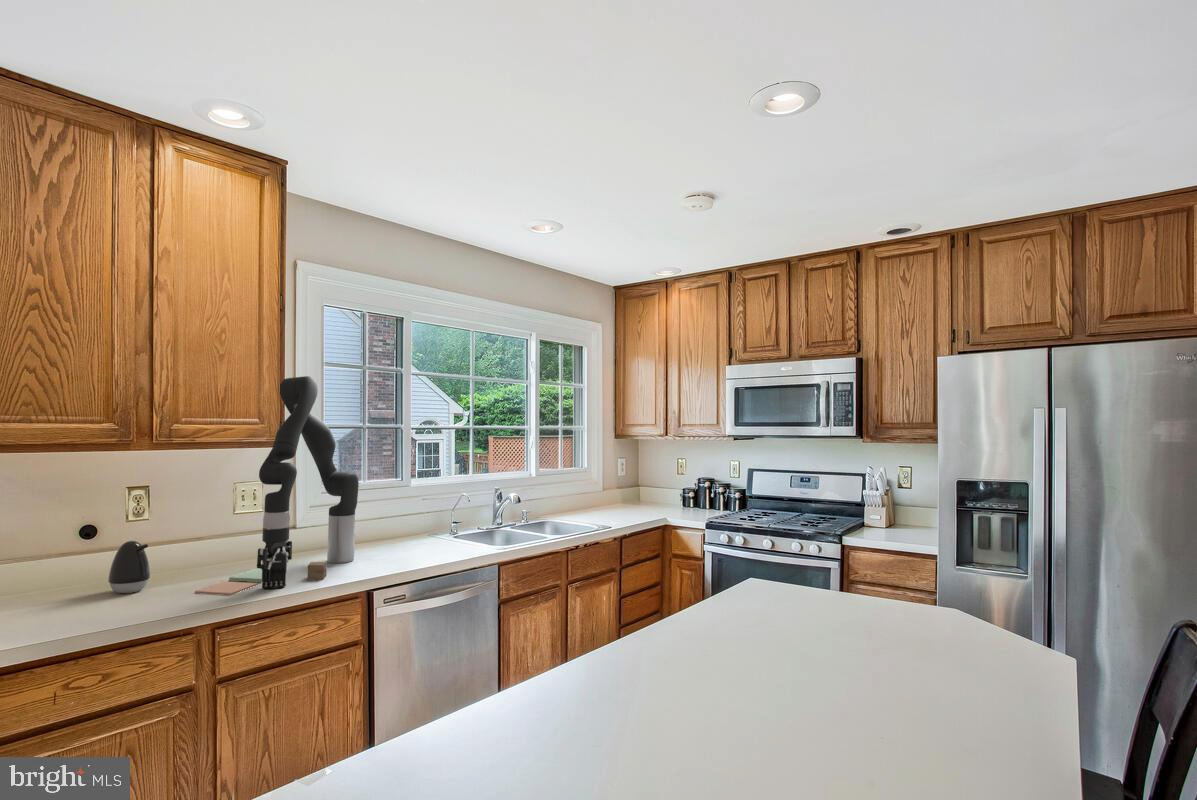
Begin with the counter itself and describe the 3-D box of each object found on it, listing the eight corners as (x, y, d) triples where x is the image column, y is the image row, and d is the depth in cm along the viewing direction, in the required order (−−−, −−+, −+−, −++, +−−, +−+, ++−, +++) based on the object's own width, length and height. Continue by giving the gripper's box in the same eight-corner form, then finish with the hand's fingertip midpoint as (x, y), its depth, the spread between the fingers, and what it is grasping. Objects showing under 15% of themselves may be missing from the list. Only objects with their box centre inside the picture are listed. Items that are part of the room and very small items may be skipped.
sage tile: (253, 572, 220) (253, 568, 220) (285, 574, 218) (286, 570, 218) (229, 580, 208) (229, 577, 208) (263, 582, 206) (263, 579, 206)
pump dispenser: (132, 596, 188) (134, 544, 188) (98, 595, 189) (101, 543, 189) (158, 587, 198) (160, 538, 199) (126, 586, 199) (128, 537, 199)
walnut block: (310, 576, 216) (310, 561, 216) (326, 576, 217) (326, 561, 217) (307, 580, 211) (307, 565, 211) (323, 580, 212) (323, 564, 212)
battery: (260, 590, 197) (262, 553, 197) (261, 587, 201) (262, 551, 201) (285, 588, 200) (287, 551, 200) (286, 585, 203) (287, 549, 204)
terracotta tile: (222, 585, 205) (222, 581, 205) (257, 587, 203) (257, 583, 203) (194, 594, 193) (194, 590, 193) (231, 597, 191) (231, 593, 192)
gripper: (279, 522, 209) (277, 572, 208) (250, 529, 195) (248, 583, 194) (300, 522, 208) (298, 573, 207) (273, 530, 194) (271, 584, 193)
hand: (274, 578), depth 201 cm, fingers open, 8 cm apart
